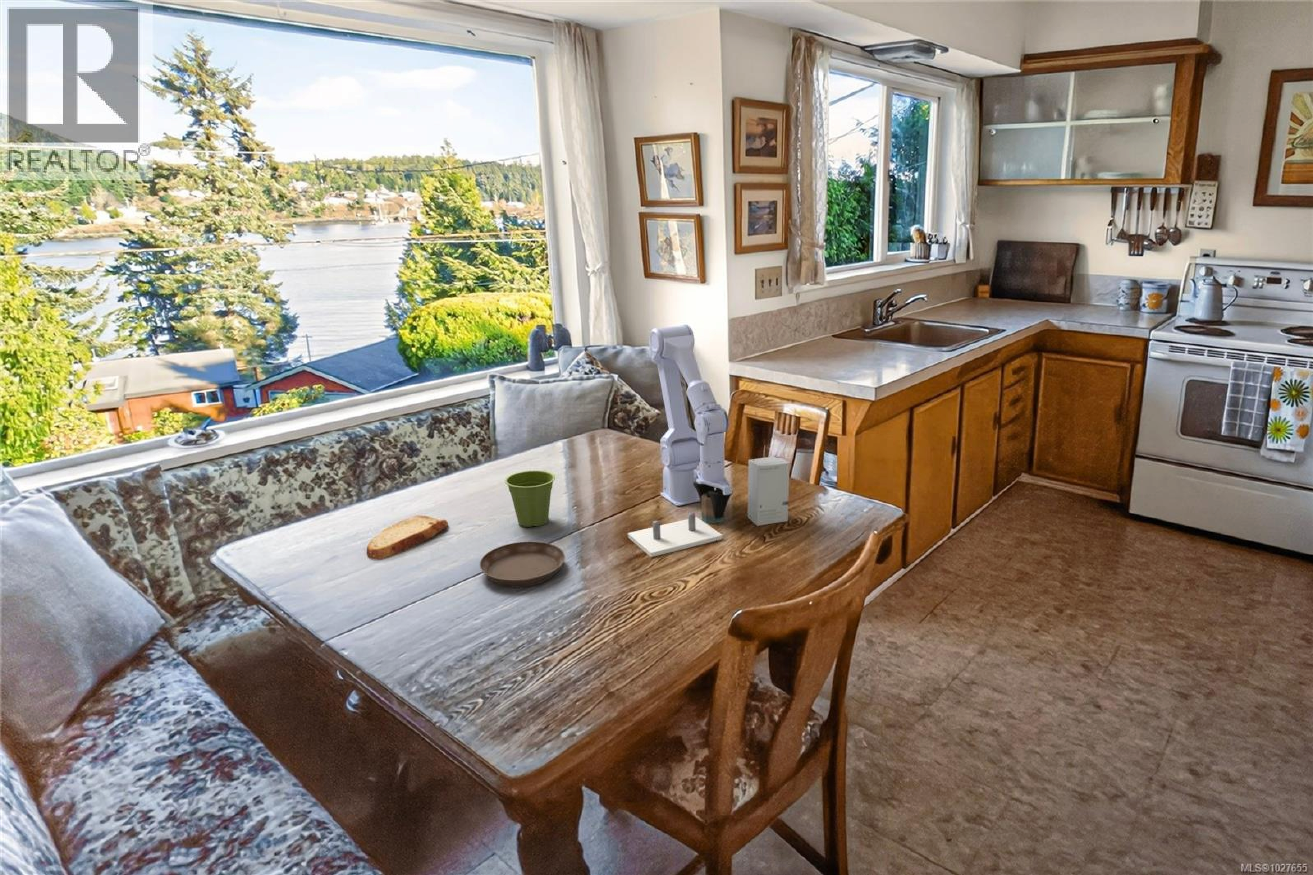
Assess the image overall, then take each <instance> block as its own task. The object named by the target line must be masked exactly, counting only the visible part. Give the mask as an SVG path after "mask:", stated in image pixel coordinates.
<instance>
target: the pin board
mask: <svg viewBox="0 0 1313 875" xmlns="http://www.w3.org/2000/svg"><path fill="white" fill-rule="evenodd" d="M687 514H688V515H687V518H686V519H682V520H678V521H673V522H670V523H665V524H662V525H661V521H660V520H654V521H652V527H648V528H644V529H643V528H642V529H639V530H635V531H631V532H627V538H628V539H630V540H631V541H632V543H634V544H635V545H637V546H638V547H639V548H640V549H641V550H642V551H643V552H644V553H646V554H647V555H648V556H649V557H650V558H653V557H657V556H661V555H664V554H670V553H673V552H677V551H681V550H685V549H689V548H692V547H697V546H701V545H704V544H709V543H713V542H717V541H720V540H723V536H724V535H723V534H722V533H720V532H719V531H718V530H716V529H715V528H713V527H712V526H710V525H709V524H708V523H706V522H705V521H703V520H702V519H700V518H699V517H697V516H696V512H691V511H690V512H688V513H687ZM716 540H717V541H716Z"/></svg>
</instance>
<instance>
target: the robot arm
mask: <svg viewBox="0 0 1313 875" xmlns="http://www.w3.org/2000/svg"><path fill="white" fill-rule="evenodd" d="M695 340H696V339H695V335H694V331H693V329H692V327H691V326H689V325H688V324H683V325H677V326H668V327H660V328H659V327H655V328H652V329H651V332H650V334H649V338H648V345H649V351H650V357H651V360H652V363H653V364H655V365H657V369H658V370H657V371H658V376H659V381H660V388H661V393H662V398H663V404H664V408H665V410H664V411H665V415H666V420H667V426H668V427H667V428H668V430H667V431H666V432H665V433H664V435H663V436H662V437H661V438H660V443H659V444H660V452H659V453H660V458H661V462H662V465H664V467H663V470H662V482H663V483H662V485H663V492H660V496H662V497H663V498H664V499H666V500H667V501H669V502H670V503H672V504H673V505H674V506H675V507H681V506H684V505H690V504H693V503H699V502H700V505H701V506H702V499H701V496H702V495H703V493H707V492H708V494H709V496H710V498H711V501H712V505H713V513H714V517H715V518H716V519H718V518H722V517H723V516H724V517H725V512H726V509H727V505H728V502H729V500H730V498H731V497H732V495H733V492H734V491H733V485H732V484H730V482H729V481H728V479H727V477H726V475H725V472H726V471H725V470H726V469H725V433H727V432H728V430H729V428H730V419H729V415H728V412H727V410H726V409H725V408H724V407H722V405H721V404H718V403H717V400H716V398H715V396H714V393H713V391H712V388H711V386H710V384H709V382H708V381H704V380H703V379H702V376H701V373H700V369H699V366H698V363H697V359H696V358H695V354H694V348H695ZM680 373H681V375H682V377H683V379H684V381H685V382H686V384H687V389H686V391H685V393H686V394H685V395H686V396H687V398H688V401H689V403H690V405H691V409H692V411H693V412H694V415H695V417H694V422H693V424H694V428H695V429H693V428H691V426H689V421H688V415H687V410H686V404H685V399H684V393H683V392H684V391H683V387H682V382H681V376H680ZM681 439H683V440H681ZM676 440H678V441H676ZM698 467H699V468H698Z"/></svg>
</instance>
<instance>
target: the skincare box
mask: <svg viewBox="0 0 1313 875" xmlns="http://www.w3.org/2000/svg"><path fill="white" fill-rule="evenodd" d="M747 465H748V472H747V474H748V476H747V477H748V478H747V480H748V482H747V518H748V519H750V521H751V522H752V523H753V524H754V525H756V526H757V527H759V526H765V525H766V526H767V525H772V524H777V523H785V522H788V519H789V496H790V495H789V493H790V492H789V491H790V490H789V489H790V462H789V461H788V460H785V458H782V457H781V456H771V457H770V456H769V457H761V458H754V459H753V458H751V459H748V464H747Z"/></svg>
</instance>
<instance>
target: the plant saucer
mask: <svg viewBox="0 0 1313 875" xmlns="http://www.w3.org/2000/svg"><path fill="white" fill-rule="evenodd" d="M565 560H566V555H565V552H564V551H563V550H562V549H561V548H560V547H559V546H557V545H555V544H552V543H548V542H542V541H532V540H531V541H518V542H512V543H507V544H504V545H500V546H497V547H496V548H493V549H491V550H489V551H488V552H487V553H486V554H485V555H483V556H482V557H481V559H480V561H479V568H480V570H481V572H482V573H483V574H485V576H486V577H487V578H488V579H490V580H491V581H492V582H494V583H495V584H498V585H499V586H505V587H511V588H512V587H514V588H517V587H518V588H519V587H529V586H533V585H538V584H540V583H543V582H545V581H548V580H549V579H551V578H552V577H553V576H554V575H556V574H557V572H558V571H559V570H561V569H560V568H561V567H562V566H563V563H564V562H565Z"/></svg>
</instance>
